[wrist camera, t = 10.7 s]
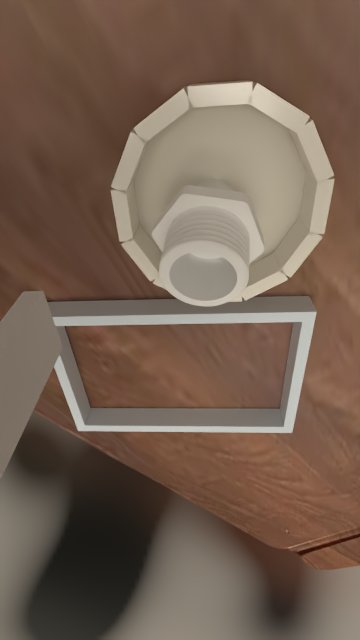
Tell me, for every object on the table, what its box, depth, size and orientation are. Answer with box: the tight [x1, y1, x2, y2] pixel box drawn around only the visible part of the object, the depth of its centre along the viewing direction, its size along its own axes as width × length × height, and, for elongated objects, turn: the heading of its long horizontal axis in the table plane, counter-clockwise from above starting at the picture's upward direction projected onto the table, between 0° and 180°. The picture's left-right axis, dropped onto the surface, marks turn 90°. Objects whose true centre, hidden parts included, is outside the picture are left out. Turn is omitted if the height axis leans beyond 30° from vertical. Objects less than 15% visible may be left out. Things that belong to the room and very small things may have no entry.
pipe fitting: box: [152, 179, 264, 306], centre depth 22 cm, size 6×7×8 cm
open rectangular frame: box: [47, 296, 316, 433], centre depth 35 cm, size 16×24×2 cm, turn 94°
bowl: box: [110, 80, 335, 302], centre depth 24 cm, size 14×14×4 cm
